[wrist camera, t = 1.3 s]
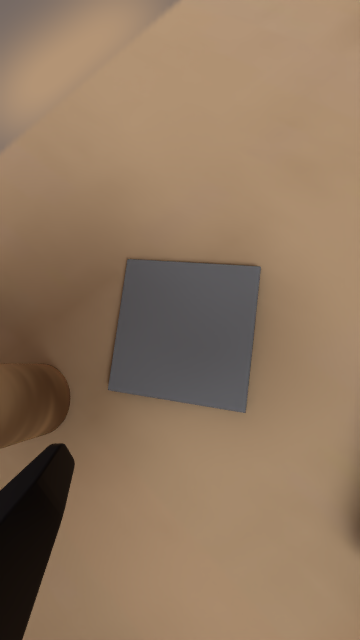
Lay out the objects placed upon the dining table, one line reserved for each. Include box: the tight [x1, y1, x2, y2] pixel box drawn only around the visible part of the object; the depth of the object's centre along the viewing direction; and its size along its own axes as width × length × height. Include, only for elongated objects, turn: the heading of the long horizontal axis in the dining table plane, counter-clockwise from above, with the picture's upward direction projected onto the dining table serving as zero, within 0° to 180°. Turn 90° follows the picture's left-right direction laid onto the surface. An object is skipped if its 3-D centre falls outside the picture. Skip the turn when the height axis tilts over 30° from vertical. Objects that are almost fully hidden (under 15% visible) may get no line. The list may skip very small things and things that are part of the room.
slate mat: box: [108, 259, 261, 413], centre depth 22 cm, size 9×9×1 cm
